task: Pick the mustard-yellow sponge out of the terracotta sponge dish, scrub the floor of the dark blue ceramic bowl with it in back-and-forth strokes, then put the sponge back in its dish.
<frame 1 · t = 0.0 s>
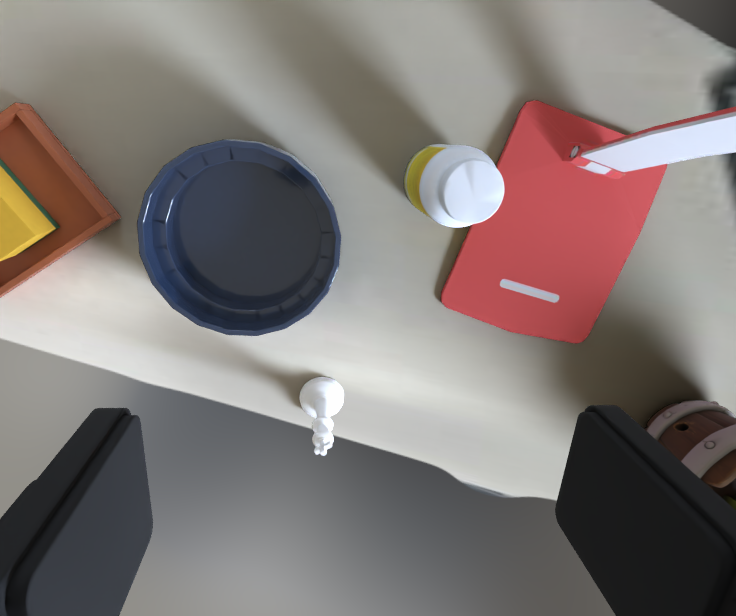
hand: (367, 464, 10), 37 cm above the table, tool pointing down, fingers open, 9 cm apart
sponge dish: (14, 206, 42), on the table
bowl: (249, 233, 45), on the table
pill bottle: (434, 178, 45), on the table
desk lamp: (540, 256, 49), on the table
sponge: (11, 207, 41), resting on sponge dish
flowerpot: (674, 432, 59), on the table
chess piece: (321, 395, 52), on the table
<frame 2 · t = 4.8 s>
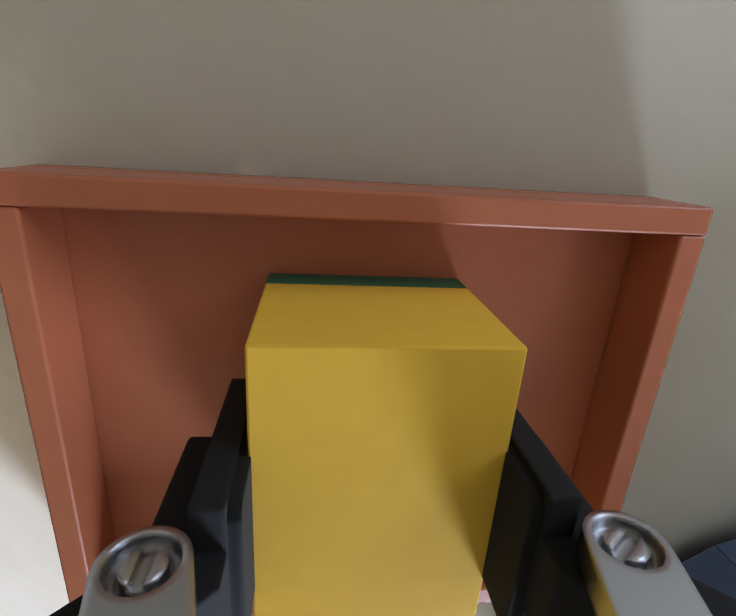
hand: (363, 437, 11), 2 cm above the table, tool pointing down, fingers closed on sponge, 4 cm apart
sponge dish: (356, 393, 13), on the table
sponge: (357, 403, 12), resting on sponge dish, touching gripper
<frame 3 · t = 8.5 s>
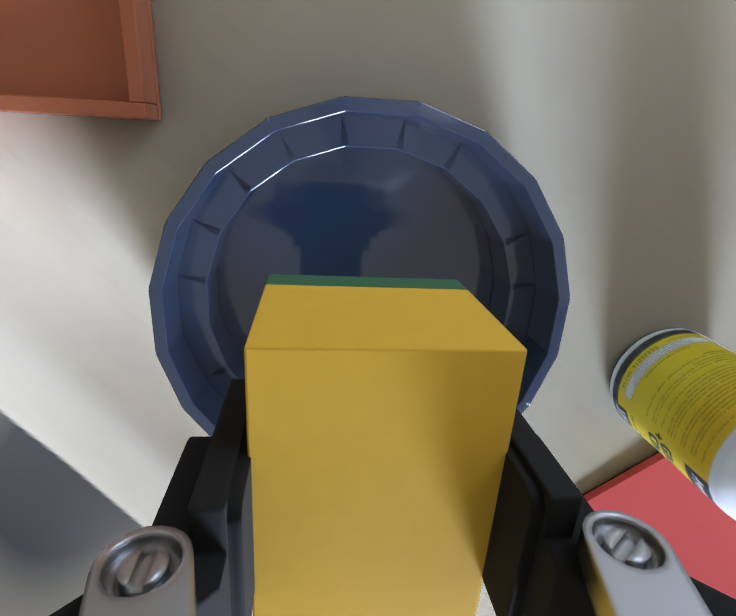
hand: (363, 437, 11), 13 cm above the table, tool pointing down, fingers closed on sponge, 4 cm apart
bowl: (358, 287, 24), on the table
pill bottle: (654, 372, 28), on the table
desk lamp: (683, 535, 33), on the table
sponge: (357, 404, 12), point 12 cm above the table, touching gripper
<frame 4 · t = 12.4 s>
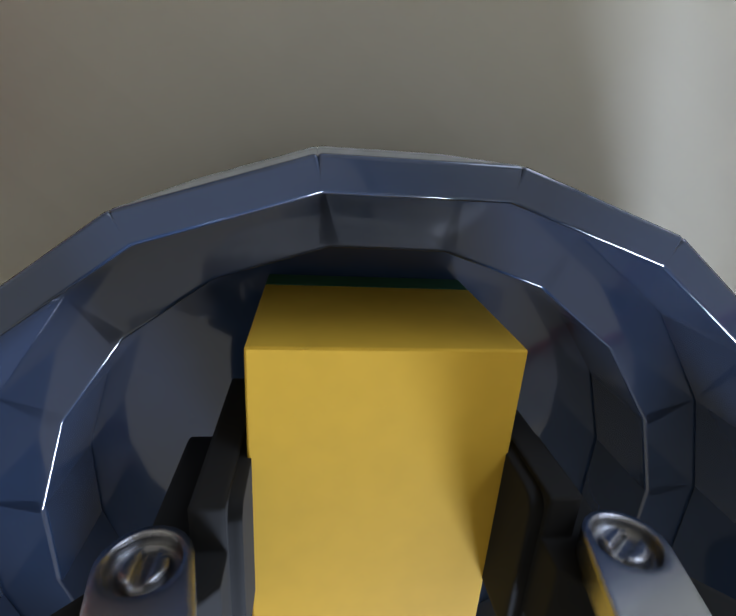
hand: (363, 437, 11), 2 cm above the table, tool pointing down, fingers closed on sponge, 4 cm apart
bowl: (356, 458, 13), on the table
sponge: (357, 405, 12), point 1 cm above the table, touching gripper
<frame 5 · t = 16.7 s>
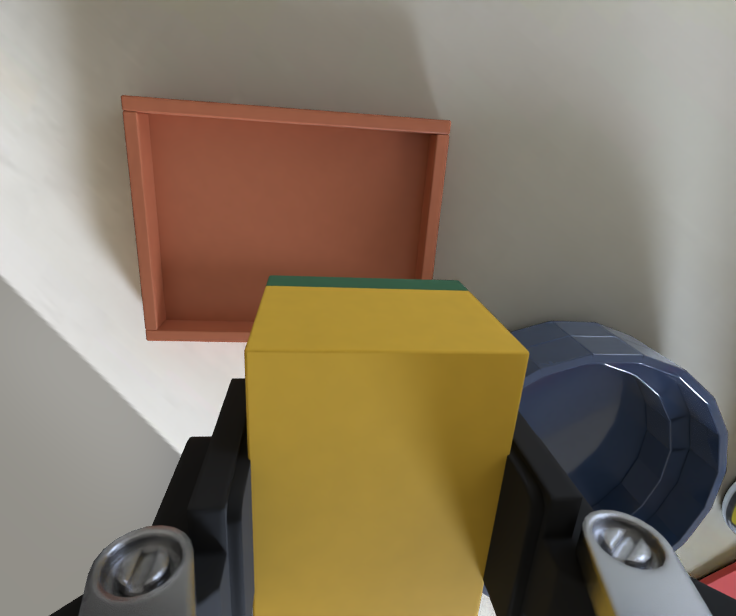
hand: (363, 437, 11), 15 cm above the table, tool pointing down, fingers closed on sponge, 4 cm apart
sponge dish: (293, 228, 24), on the table
bowl: (539, 438, 30), on the table
sponge: (358, 406, 12), point 14 cm above the table, touching gripper
when the fingers open (2 cm above the table, at t = 20.2 s): sponge stays where it is, resting on sponge dish.
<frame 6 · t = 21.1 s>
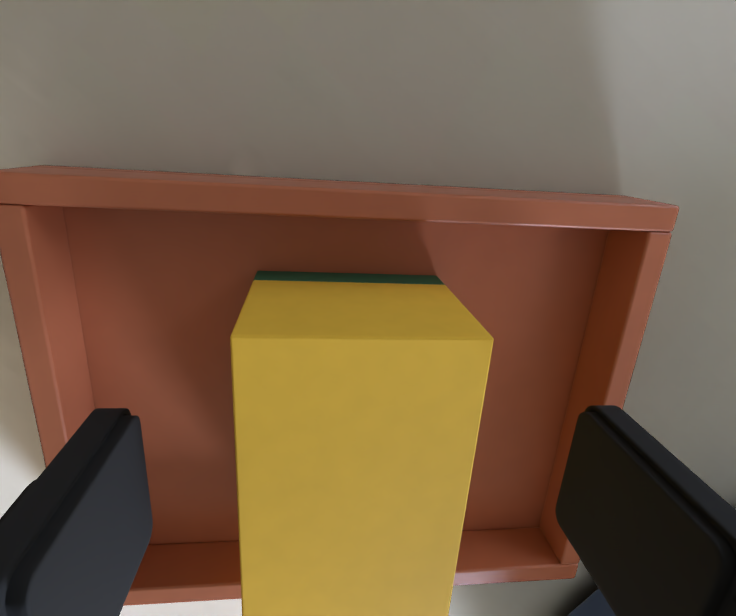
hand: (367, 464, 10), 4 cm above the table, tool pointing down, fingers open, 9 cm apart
sponge dish: (345, 384, 13), on the table
sponge: (343, 395, 13), resting on sponge dish
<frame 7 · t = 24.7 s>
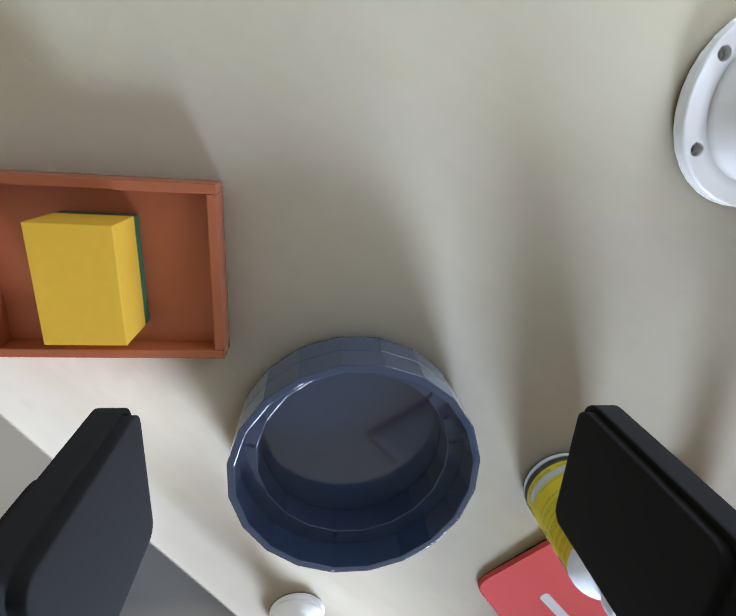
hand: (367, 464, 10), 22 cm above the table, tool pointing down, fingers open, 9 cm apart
sponge dish: (112, 265, 30), on the table
bowl: (351, 434, 36), on the table
pill bottle: (555, 478, 40), on the table
desk lamp: (587, 585, 45), on the table
sponge: (107, 268, 29), resting on sponge dish
chess piece: (297, 610, 42), on the table
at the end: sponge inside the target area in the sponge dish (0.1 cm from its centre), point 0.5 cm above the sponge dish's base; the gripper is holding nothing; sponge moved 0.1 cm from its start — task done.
